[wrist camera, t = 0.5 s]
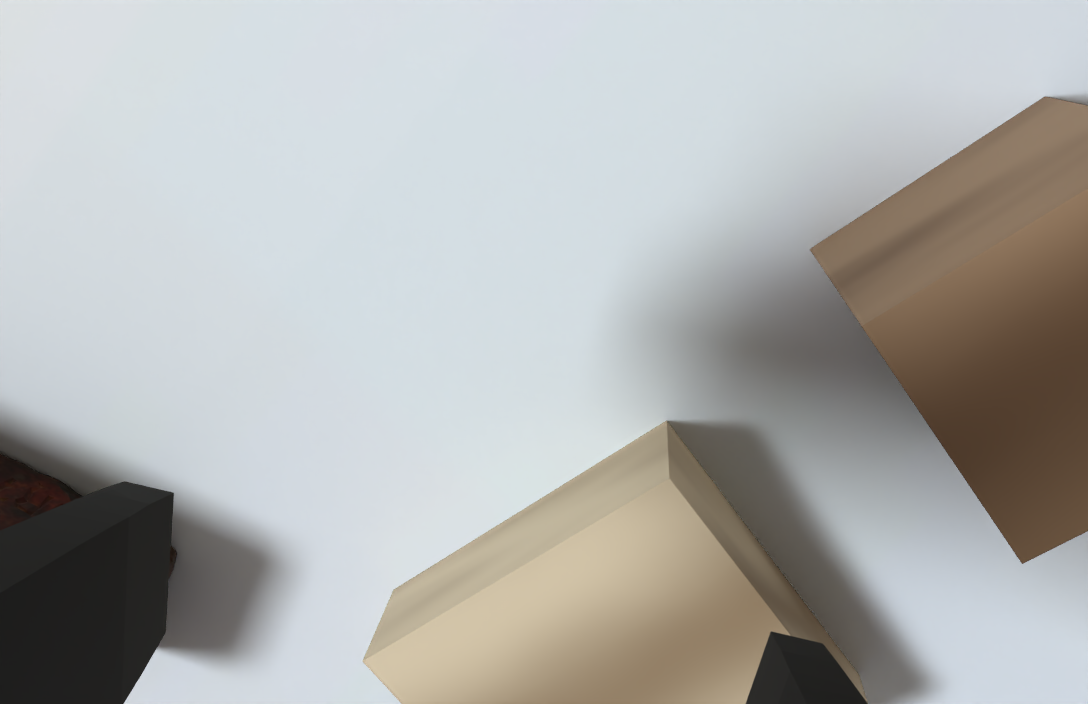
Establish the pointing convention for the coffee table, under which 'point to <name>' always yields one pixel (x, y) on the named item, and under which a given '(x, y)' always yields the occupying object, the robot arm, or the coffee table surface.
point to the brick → (34, 495)
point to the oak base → (598, 597)
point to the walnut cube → (990, 314)
